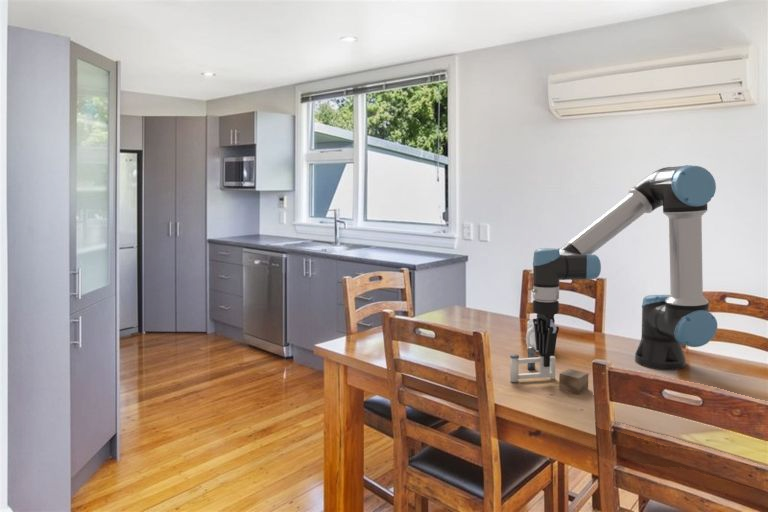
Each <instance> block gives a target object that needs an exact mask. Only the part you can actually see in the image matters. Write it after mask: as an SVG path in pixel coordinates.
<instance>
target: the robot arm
mask: <svg viewBox="0 0 768 512" xmlns="http://www.w3.org/2000/svg"><path fill="white" fill-rule="evenodd" d="M716 189H717V185H716V180H715V177H714V175H713V174H712V172H710V171H709V170H708V169H706V168H704V167H702V166H699V165H689V164H688V165H687V164H686V165H680V166H668V167H662V168H659V169H658V170H655V171H653V172H652V173H650V174H649V175H648V176H646V177H644V178H643V179H642V180H640V181H639V182H638V183H637V184H636V185H634V186H633V187H632V188H631V189H629V190H628V195H627V196H626V197H624V198H623V199H622V200H620V201H619V202H618V203H617V204H615V206H613V207H612V208H610V209H609V210H608V211H606V212H605V213H604V214H603V215H602V216H601V217H598V219H596V220H595V221H594V222H593V223H591V224H590V225H589V226H588V227H586V228H585V229H583V230H582V231H581V232H579V234H578V235H576V236H575V237H573V238H572V239H571V240H570V241H568V242H567V243H566V244H564V245H563V246H561V247H560V248H551V247H549V248H548V247H547V248H546V247H541V248H537V249H535V250H534V252H533V260H532V270H533V271H532V276H533V277H532V279H533V280H532V282H533V283H532V284H533V285H532V286H533V287H532V288H533V289H532V290H531V292H532V297H533V301H532V311H533V313H534V314H536V318H532V320H533V323H534V330H535V341H536V350H537V351H539V352H538V354H539V357H540V362H539V372H540V376H541V377H540V378H550V356H554V357H555V351H556V346H557V345H556V344H557V338H558V333H559V331H560V328H559V326H556V325H555V315H557V314H558V313H559V312H560V311H559V310H560V309H559V308H560V305H559V304H560V302H559V301H558V300H560V281H567V280H569V281H572V280H573V281H577V280H585V281H588V280H596V279H598V277H599V276H600V274H601V271H602V265H601V264H602V263H601V261H600V260H601V259H600V258H599V256H598V255H596V254H594V253H595V252H597V250H599V249H600V248H602V247H603V246H605V244H607V243H608V242H609V241H611V240H612V239H614V238H615V237H616V236H617V235H618V234H620V233H621V232H623V230H625V229H626V228H627V227H629V226H630V225H631V224H632V223H634V222H635V221H636V220H637V219H639V218H640V217H642V216H643V215H644V214H650V213H653V212H654V210H656V209H658V208H660V207H662V213H663V214H664V215H665V216H666V217H668V231H669V233H668V237H669V238H668V239H669V240H668V243H669V279H670V280H669V282H670V288H669V290H670V294H649V295H645V296H644V297H643V299H642V303H641V308H642V309H641V338H640V341H639V344H638V346H637V349H636V351H635V355H634V360H635V362H636V363H637V364H638V363H639V364H638V365H640V364H641V365H640V366H643V365H644V366H643V367H646V366H647V367H648V368H650V369H654V370H655V369H656V370H668V371H669V370H670V371H672V370H673V371H674V370H681V369H683V368H685V367H686V365H687V363H686V362H687V360H686V356H685V351H684V349H683V346H687V347H690V348H700V347H702V346H705V345H707V344H708V343H710V341H711V340H712V339H713V338H714V337H715V336H716V333H717V330H718V322H717V318H716V317H715V316H714V315H713V314H712V312H710V310H709V309H710V307H709V306H710V304H709V302H710V301H709V300H708V299H707V298H706V297H705V296H704V292H703V283H704V282H703V234H702V231H703V230H702V229H703V226H702V225H703V224H702V223H703V222H702V217H703V216H704V215H705V213H706V212H708V203H709V202H710V201H711V200H712V198H714V196H715V194H716Z"/></svg>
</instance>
